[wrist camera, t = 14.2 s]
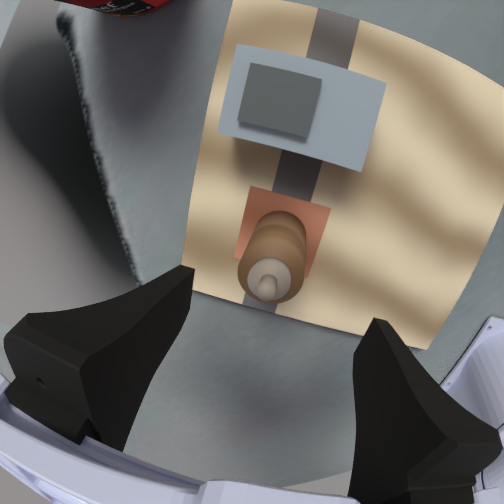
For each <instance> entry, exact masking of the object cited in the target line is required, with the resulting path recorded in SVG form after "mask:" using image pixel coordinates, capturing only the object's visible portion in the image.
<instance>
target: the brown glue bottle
mask: <svg viewBox="0 0 504 504" xmlns="http://www.w3.org/2000/svg"><path fill="white" fill-rule="evenodd" d="M305 252H306V230H305V227H304V225H303V223H302V221H301V220H300V219H299V218H298V217H297V216H295V215H294V214H292V213H290V212H287V211H273V212H270V213H267V214H266V215H264V216H263V217H262V218H261V219H260V220H259V221H258V223H257V225H256V227H255V229H254V232H253V234H252V236H251V238H250V240H249V243H248V245H247V247H246V249H245V251H244V253H243V256H242V258H241V260H240V262H239V265H238V270H237V275H238V280H239V283H240V285H241V287H242V289H243V290H244V291H245V292H246V293H247V294H248V295H249V296H250V297H252V298H253V299H255V300H257V301H260V302H263V303H268V304H278V303H283V302H286V301H288V300H290V299H292V298H293V297H294V296H295V295H297V293H298V292H299V291H300V289H301V287H302V285H303V282H304V270H305Z"/></svg>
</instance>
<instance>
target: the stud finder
mask: <svg viewBox="0 0 504 504" xmlns="http://www.w3.org/2000/svg"><path fill="white" fill-rule="evenodd" d="M386 85H387V83H385V82H383V81H380V80H377V79H374V78H372V77H369V76H366V75H363V74H360V73H357V72H354V71H351V70H348V69H344V68H341V67H338V66H334V65H331V64H328V63H324V62H320V61H317V60H313V59H309V58H305V57H301V56H297V55H293V54H289V53H284V52H280V51H275V50H270V49H265V48H260V47H254V46H249V45H243V44H237V46H236V50H235V54H234V58H233V62H232V66H231V71H230V75H229V79H228V84H227V88H226V92H225V97H224V101H223V106H222V110H221V115H220V120H219V125H218V129H217V133H218V134H223V135H227V136H232V137H236V138H241V139H245V140H249V141H253V142H257V143H261V144H265V145H269V146H273V147H277V148H281V149H285V150H288V151H292V152H296V153H299V154H303V155H306V156H310V157H313V158H317V159H320V160H323V161H327V162H330V163H333V164H337V165H340V166H343V167H346V168H349V169H352V170H355V171H358V172H361V171H362V168H363V164H364V161H365V158H366V155H367V152H368V148H369V145H370V142H371V138H372V135H373V132H374V128H375V125H376V121H377V118H378V114H379V111H380V107H381V104H382V100H383V96H384V93H385V89H386Z"/></svg>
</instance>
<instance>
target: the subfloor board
mask: <svg viewBox="0 0 504 504" xmlns="http://www.w3.org/2000/svg"><path fill="white" fill-rule="evenodd" d="M237 44H243V45H249V46H254V47H260V48H265V49H270V50H275V51H280V52H284V53H289V54H293V55H297V56H301V57H305V58H309V59H313V60H317V61H320V62H324V63H328V64H331V65H334V66H338V67H341V68H344V69H348V70H351V71H354V72H357V73H360V74H363V75H366V76H369V77H372V78H374V79H377V80H380V81H383V82H385V83H387V85H386V89H385V93H384V96H383V100H382V104H381V107H380V111H379V114H378V118H377V121H376V125H375V128H374V132H373V135H372V138H371V142H370V145H369V148H368V152H367V155H366V158H365V161H364V164H363V168H362V171H361V172H358V171H355V170H352V169H349V168H346V167H343V166H340V165H337V164H333V163H330V162H327V161H323V160H320V159H317V158H313V157H310V156H306V155H303V154H299V153H296V152H292V151H288V150H285V149H281V148H277V147H273V146H269V145H265V144H261V143H257V142H253V141H249V140H245V139H241V138H236V137H232V136H227V135H223V134H218V133H217V129H218V125H219V120H220V115H221V110H222V106H223V101H224V97H225V92H226V88H227V84H228V79H229V75H230V71H231V66H232V62H233V58H234V54H235V50H236V46H237ZM503 204H504V88H503V87H502V86H500V85H498V84H497V83H495V82H494V81H492V80H490V79H489V78H487V77H485V76H484V75H482V74H480V73H479V72H477V71H475V70H473V69H472V68H470V67H468V66H466V65H464V64H463V63H461V62H459V61H457V60H455V59H453V58H451V57H449V56H447V55H445V54H443V53H441V52H439V51H437V50H435V49H433V48H430V47H428V46H426V45H424V44H422V43H419V42H417V41H415V40H412V39H410V38H408V37H405V36H403V35H400V34H398V33H395V32H393V31H390V30H387V29H385V28H382V27H379V26H376V25H373V24H370V23H368V22H364V21H361V20H359V19H355V18H352V17H349V16H346V15H342V14H339V13H335V12H331V11H328V10H324V9H320V8H315V7H311V6H307V5H302V4H298V3H293V2H288V1H282V0H233V4H232V7H231V11H230V15H229V18H228V22H227V26H226V30H225V34H224V38H223V42H222V46H221V50H220V54H219V58H218V63H217V67H216V71H215V76H214V80H213V85H212V89H211V94H210V98H209V103H208V108H207V113H206V118H205V123H204V128H203V133H202V138H201V143H200V149H199V154H198V160H197V165H196V171H195V177H194V183H193V189H192V195H191V201H190V207H189V214H188V220H187V227H186V234H185V241H184V248H183V256H182V264H181V265H184V266H187V267H191V268H194V269H195V275H194V281H193V288H192V290H196V291H199V292H202V293H206V294H209V295H212V296H216V297H219V298H222V299H226V300H229V301H233V302H236V303H240V304H242V305H246V306H249V307H253V308H257V309H260V310H264V311H267V312H271V313H275V314H279V315H283V316H287V317H290V318H294V319H298V320H302V321H305V322H309V323H313V324H317V325H321V326H325V327H329V328H333V329H337V330H341V331H345V332H349V333H354V334H358V335H362V336H364V334H365V333H366V331H367V329H368V327H369V325H370V323H371V321H372V319H373V317H375V318H379V319H383V320H387V321H388V322H389V323H390V324H391V326H392V327H393V328H394V329H395V331H396V332H397V333H398V335H399V336H400V337H401V339H402V340H403V342H404V343H405V344H406V346H411V347H416V348H421V349H425V350H427V348H428V347H429V345H430V344H431V342H432V341H433V339H434V338H435V336H436V335H437V333H438V332H439V330H440V329H441V327H442V325H443V324H444V322H445V321H446V319H447V317H448V316H449V314H450V312H451V311H452V309H453V307H454V305H455V304H456V302H457V300H458V298H459V297H460V295H461V293H462V291H463V290H464V288H465V286H466V284H467V282H468V280H469V278H470V277H471V275H472V273H473V271H474V269H475V267H476V265H477V263H478V261H479V259H480V257H481V255H482V253H483V250H484V248H485V246H486V244H487V242H488V240H489V237H490V235H491V233H492V231H493V228H494V226H495V224H496V221H497V219H498V217H499V214H500V212H501V209H502V207H503ZM273 211H287V212H290V213H292V214H294V215H295V216H297V217H298V218H299V219H300V220H301V221H302V223H303V225H304V227H305V230H306V252H305V270H304V282H303V285H302V287H301V289H300V291H299V292H298V293H297V295H295V296H294V297H293V298H292V299H290V300H288V301H286V302H283V303H278V304H268V303H263V302H260V301H257V300H255V299H253V298H252V297H250V296H249V295H248V294H247V293H246V292H245V291H244V290H243V289H242V287H241V285H240V283H239V280H238V275H237V270H238V265H239V262H240V260H241V258H242V256H243V253H244V251H245V249H246V247H247V245H248V243H249V240H250V238H251V236H252V234H253V232H254V229H255V227H256V225H257V223H258V221H259V220H260V219H261V218H262V217H263V216H264V215H266V214H267V213H270V212H273Z"/></svg>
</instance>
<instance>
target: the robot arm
mask: <svg viewBox="0 0 504 504" xmlns="http://www.w3.org/2000/svg"><path fill="white" fill-rule="evenodd" d="M194 275H195V269H194V268H191V267H187V266H184V265H179V266H177V267H175V268H173V269H172V270H170V271H168V272H166V273H165V274H163V275H161V276H159V277H157V278H156V279H154V280H152V281H150V282H148V283H146V284H144V285H142V286H140V287H138V288H136V289H134V290H132V291H130V292H128V293H125V294H123V295H120V296H118V297H115V298H112V299H109V300H106V301H103V302H100V303H96V304H92V305H88V306H84V307H80V308H75V309H70V310H63V311H56V312H43V313H28V314H27V315H26V316H25V317H23V318H22V319H21V321H19V322H18V323H17V324H16V325H15V326H14V327H13V328H12V329H11V330H10V331H9V332H8V333H7V334H6V335H5V337H4V349H5V352H6V355H7V358H8V360H9V363H10V365H11V367H12V370H13V372H14V374H15V377H16V378H15V379H14V381H13V382H12V383H10V382H9V381H8V379H7V378H6V377H4V376H3V375H2V374H1V373H0V466H2V467H3V468H4V469H5V470H7V471H8V472H9V473H11V474H12V475H13V476H15V477H16V478H18V479H19V480H20V481H22V482H23V483H24V484H26V485H27V486H29V487H30V488H31V489H33V490H34V491H35V492H37V493H38V494H40V495H41V496H43V497H44V498H46V499H47V500H49V501H51V502H52V503H54V504H504V320H503V319H500V318H496V317H490V318H488V320H487V321H486V323H485V324H484V326H483V327H482V329H481V330H480V332H479V333H478V335H477V336H476V338H475V339H474V341H473V342H472V344H471V345H470V347H469V348H468V349H467V351H466V352H465V354H464V355H463V356H462V358H461V359H460V360H459V362H458V363H457V364H456V366H455V367H454V368H453V370H452V371H451V372H450V374H449V375H448V376H447V377H446V379H445V380H444V381H443V382H442V384H441V385H440V386H439V384H438V383H437V382H436V381H435V380H434V379H433V378H432V377H431V376H430V375H429V374H428V372H427V371H426V370H425V369H424V368H423V366H422V365H421V364H420V363H419V361H418V360H417V359H416V358H415V356H414V355H413V354H412V352H411V351H410V350H409V348H408V347H407V346H406V344H405V343H404V342H403V340H402V339H401V337H400V336H399V335H398V333H397V332H396V331H395V329H394V328H393V327H392V326H391V324H390V323H389V322H388V321H387V320H383V319H379V318H375V317H373V319H372V321H371V323H370V325H369V327H368V329H367V331H366V333H365V334H364V336H363V338H362V340H361V342H360V343H359V345H358V347H357V349H356V351H355V352H354V357H353V386H354V398H355V411H356V441H355V452H354V461H353V469H352V475H351V481H350V486H349V492H348V496H347V497H346V496H341V495H331V494H321V493H312V492H305V491H297V490H291V489H284V488H278V487H273V486H267V485H262V484H257V483H252V482H247V481H240V480H233V479H213V480H210V481H207V482H204V481H201V480H197V479H194V478H191V477H187V476H184V475H181V474H178V473H175V472H172V471H169V470H166V469H163V468H161V467H158V466H155V465H152V464H150V463H147V462H144V461H142V460H139V459H137V458H134V457H132V456H130V455H127V454H125V453H122V452H123V450H124V447H125V444H126V441H127V438H128V435H129V433H130V430H131V427H132V425H133V422H134V420H135V417H136V415H137V412H138V410H139V407H140V405H141V403H142V400H143V398H144V395H145V393H146V391H147V389H148V386H149V384H150V382H151V380H152V378H153V376H154V374H155V372H156V370H157V369H158V367H159V365H160V364H161V362H162V360H163V359H164V357H165V355H166V354H167V352H168V350H169V349H170V347H171V346H172V344H173V342H174V341H175V339H176V337H177V336H178V334H179V332H180V331H181V328H182V326H183V324H184V322H185V319H186V317H187V315H188V312H189V310H190V303H191V296H192V288H193V281H194ZM472 486H473V487H474V493H473V490H472Z"/></svg>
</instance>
